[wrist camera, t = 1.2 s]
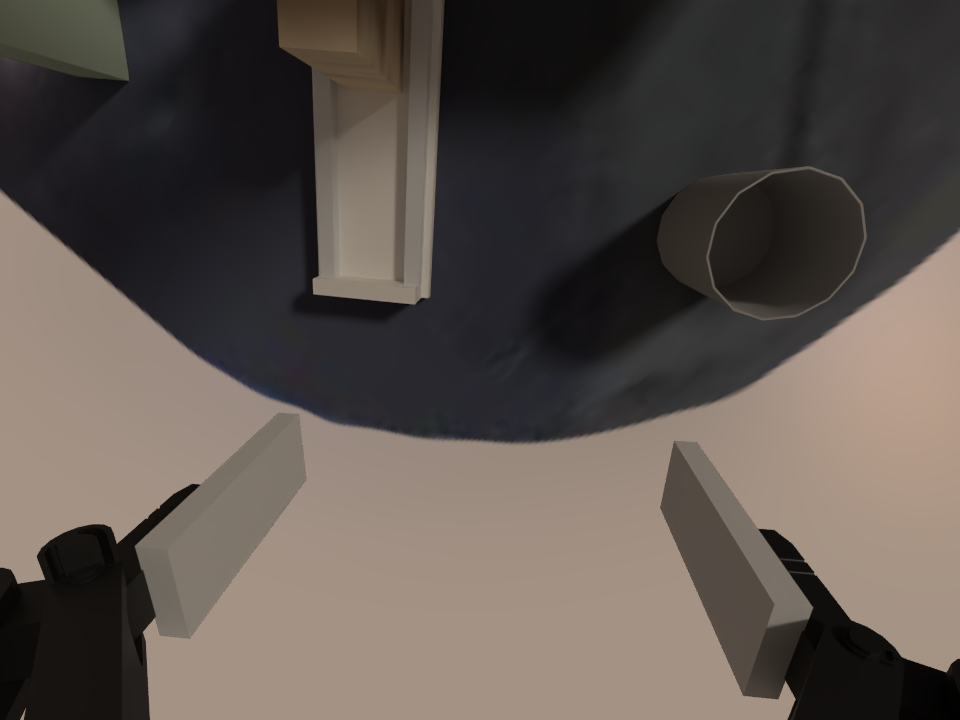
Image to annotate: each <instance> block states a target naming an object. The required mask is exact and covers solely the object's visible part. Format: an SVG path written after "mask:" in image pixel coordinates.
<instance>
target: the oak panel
mask: <svg viewBox="0 0 960 720" xmlns="http://www.w3.org/2000/svg"><path fill="white" fill-rule="evenodd" d="M277 12H278V31H279V47H280V48H282V49H284V50H285V51H287V52H288V53H290V54H292V55H293V56H295V57H297V58H298V59H300V60H301V61H303V62H305V63H306V64H308V65H309V66H311V67H313V68H314V69H316V70H317V71H319V72H321V73H322V74H324V75H325V76H327V77H329V78H330V79H332V80H334V81H335V82H337V83H338V84H340V85H342V86H343V87H345V88H346V89H354V90H367V91H379V92H391V93H403V55H404V15H405V0H277Z"/></svg>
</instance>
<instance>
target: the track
mask: <svg viewBox="0 0 960 720" xmlns="http://www.w3.org/2000/svg"><path fill="white" fill-rule="evenodd" d="M444 3H445V0H405V15H404V55H403V93H391V92H379V91H367V90H354V89H346V88H345V87H343V86H342V85H340V84H338V83H337V82H335V81H334V80H332V79H330V78H329V77H327V76H325V75H324V74H322V73H321V72H319V71H317V70H316V69H314V68H313V67H312V85H313V115H314V145H315V175H316V205H317V234H318V264H319V276H318V277H315V278H313V294H316V295H326V296H336V297H346V298H355V299H365V300H375V301H385V302H395V303H405V304H416V303H417V302H418V301H419V300H420V298H429V296H430V287H431V267H432V247H433V226H434V206H435V186H436V165H437V145H438V125H439V104H440V84H441V64H442V43H443V23H444Z"/></svg>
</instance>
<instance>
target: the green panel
mask: <svg viewBox="0 0 960 720" xmlns="http://www.w3.org/2000/svg"><path fill="white" fill-rule="evenodd" d="M0 56H3V57H7V58H10V59H14V60H18V61H21V62H25V63H29V64H33V65H36V66H40V67H44V68H48V69H51V70H55V71H59V72H62V73H66V74H70V75H74V76H77V77H87V78H99V79H111V80H123V81H129V75H128V68H127V62H126V55H125V49H124V42H123V35H122V29H121V22H120V16H119V9H118V2H117V0H0Z"/></svg>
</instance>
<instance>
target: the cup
mask: <svg viewBox="0 0 960 720" xmlns="http://www.w3.org/2000/svg"><path fill="white" fill-rule="evenodd" d="M866 238H867V236H866V227H865V218H864V209H863V203H862V202H861V201H860V199H859V198H858V197H857V196H856V194H855V193H854V192H853V191H852V189H851V188H850V187H849V185H848V184H847V183H846V182H845V180H844V179H843V178H841V177H839V176H836V175H833V174H830V173H827V172H824V171H822V170H819V169H816V168H813V167H810V166H808V167H797V168H787V169H776V170H766V171H755V172H744V173H734V174H725V175H718V176H711V177H704V178H701V179H699V180H698V181H696V182H694V183H693V184H691V185H690V186H688V187H686V188H685V189H683V190H682V191H680V192H679V193H678V194H677V195H676V196H675V198H674V199H673V201H672V202H671V203H670V205H669V206H668V208H667V209H666V210H665V212H664V213H663V215H662V217H661V222H660V227H659V232H658V236H657V245H658V249H659V253H660V257H661V261H662V264H663V265H664V266H665V267H666V268H667V270H668V271H669V272H670V273H671V274H672V275H673V276H674V277H675V278H676V279H677V280H678V281H679V282H681V283H683V284H685V285H687V286H689V287H691V288H692V289H694V290H696V291H698V292H700V293H702V294H704V295H705V296H707V297H709V298H711V299H713V300H715V301H717V302H718V303H720V304H722V305H724V306H726V307H728V308H730V309H731V310H733V311H736V312H739V313H742V314H745V315H748V316H751V317H754V318H757V319H760V320H772V319H781V318H790V317H797V316H799V315H801V314H803V313H805V312H807V311H809V310H811V309H813V308H814V307H816V306H818V305H820V304H822V303H824V302H826V301H828V300H829V299H830V298H831V297H832V296H833V295H834V294H835V293H836V292H837V290H838V289H839V288H840V287H841V286H842V285H843V284H844V283H845V282H846V280H847V279H848V278H849V277H850V276H851V275H852V274H853V273H854V271H855V269H856V266H857V263H858V260H859V258H860V255H861V252H862V249H863V246H864V244H865V241H866Z"/></svg>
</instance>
